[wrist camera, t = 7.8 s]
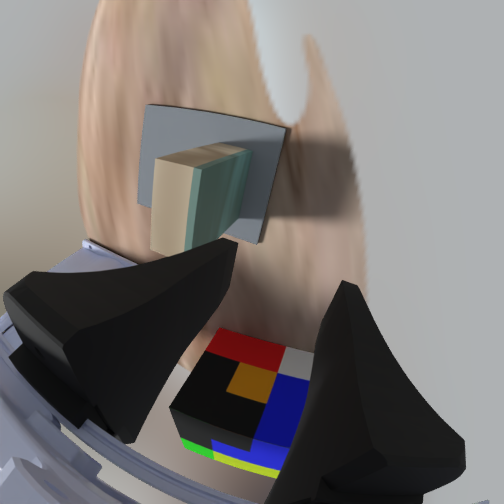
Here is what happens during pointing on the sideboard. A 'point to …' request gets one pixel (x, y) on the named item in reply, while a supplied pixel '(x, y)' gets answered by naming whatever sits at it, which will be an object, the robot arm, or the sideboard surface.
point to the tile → (196, 196)
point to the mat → (209, 132)
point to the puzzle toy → (243, 402)
